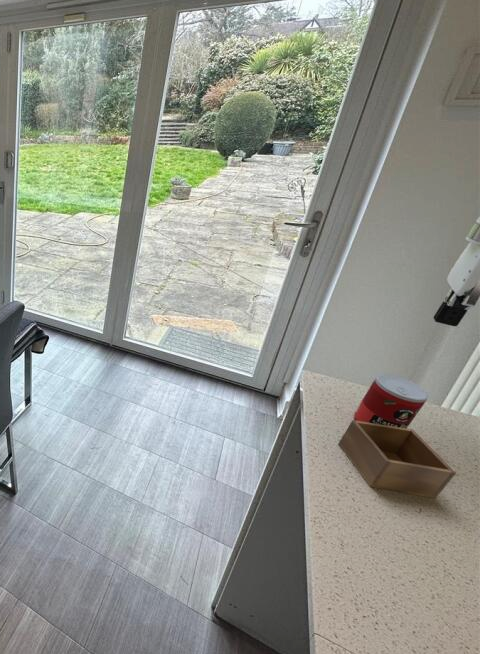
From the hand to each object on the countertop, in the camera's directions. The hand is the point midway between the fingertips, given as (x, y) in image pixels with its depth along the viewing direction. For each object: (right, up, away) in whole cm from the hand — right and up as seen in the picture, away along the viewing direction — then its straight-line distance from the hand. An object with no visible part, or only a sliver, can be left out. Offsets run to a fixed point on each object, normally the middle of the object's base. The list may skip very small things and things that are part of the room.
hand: (444, 322), depth 83 cm
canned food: (-10, -23, +4) cm, 25 cm away
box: (-18, -27, -6) cm, 33 cm away
